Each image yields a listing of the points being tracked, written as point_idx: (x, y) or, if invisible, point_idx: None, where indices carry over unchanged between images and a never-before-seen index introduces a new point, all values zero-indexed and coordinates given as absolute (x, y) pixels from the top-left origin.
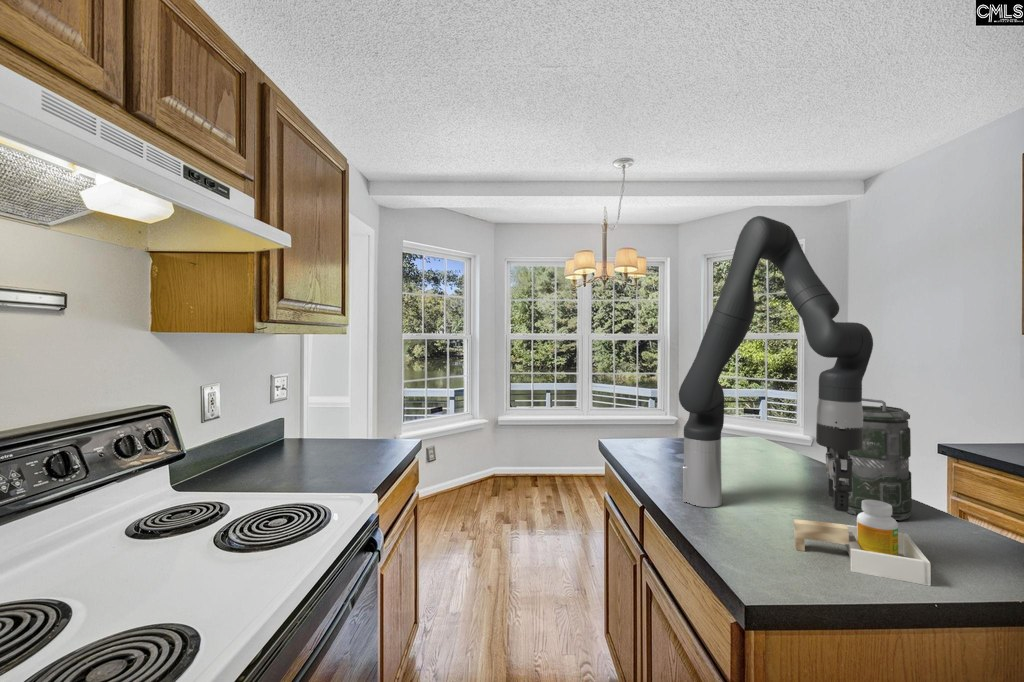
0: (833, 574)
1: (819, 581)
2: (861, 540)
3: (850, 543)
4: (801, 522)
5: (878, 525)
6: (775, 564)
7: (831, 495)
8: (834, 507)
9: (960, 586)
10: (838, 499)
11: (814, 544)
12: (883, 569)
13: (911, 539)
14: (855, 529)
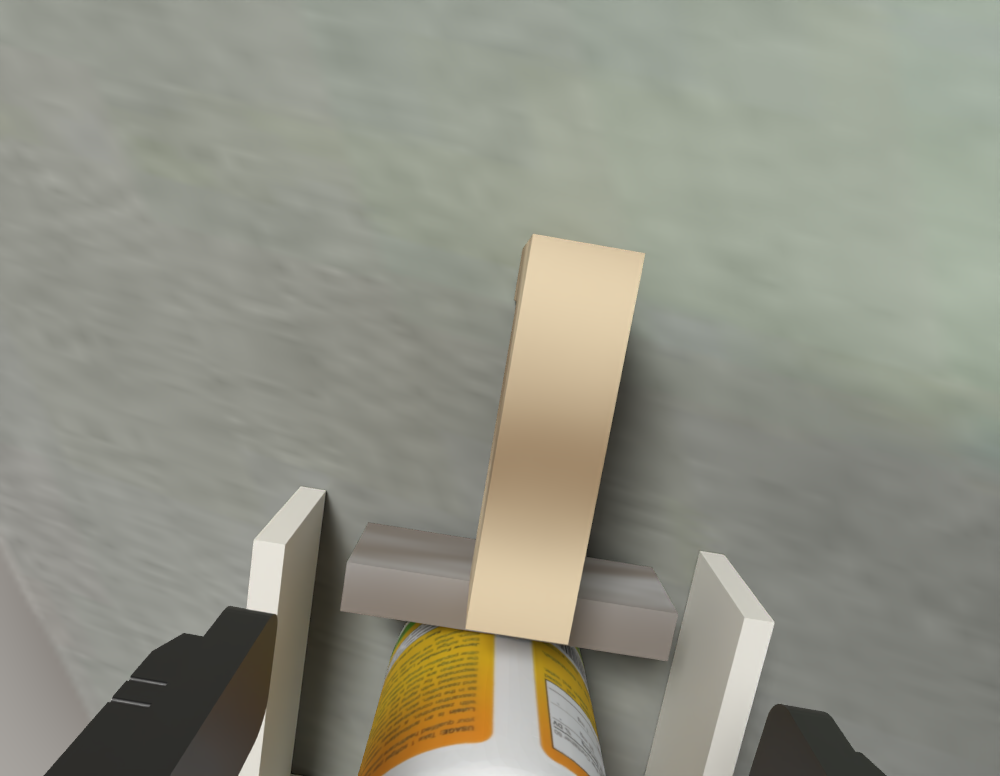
0: (225, 375)
1: (96, 266)
2: (442, 660)
3: (441, 580)
4: (557, 300)
5: None
6: (239, 47)
7: (771, 729)
8: (223, 614)
9: None
10: (94, 727)
11: (655, 395)
12: None
13: None
14: (713, 698)
